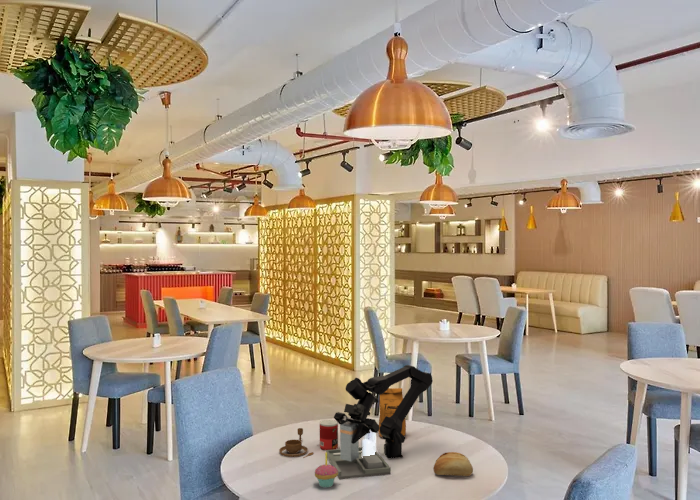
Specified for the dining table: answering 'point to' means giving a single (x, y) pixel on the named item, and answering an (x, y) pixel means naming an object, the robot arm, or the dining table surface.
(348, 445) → the block
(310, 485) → the dining table surface
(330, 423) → the canned food
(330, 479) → the cupcake
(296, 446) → the place setting
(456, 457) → the bread roll
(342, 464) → the case
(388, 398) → the coffee package
